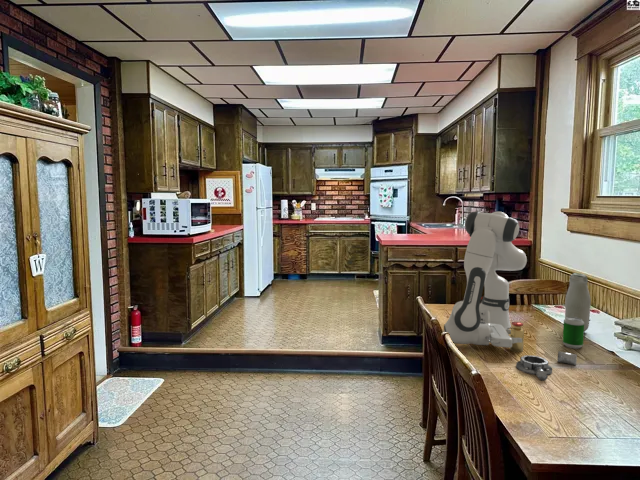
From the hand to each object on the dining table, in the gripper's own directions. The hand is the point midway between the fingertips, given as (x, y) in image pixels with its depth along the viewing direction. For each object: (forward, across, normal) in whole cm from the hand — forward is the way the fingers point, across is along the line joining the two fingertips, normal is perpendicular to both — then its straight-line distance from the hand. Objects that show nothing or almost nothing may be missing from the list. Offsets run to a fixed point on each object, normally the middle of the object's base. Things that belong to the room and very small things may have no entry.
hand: (518, 336), depth 178 cm
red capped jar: (-1, 0, +6) cm, 6 cm away
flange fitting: (+1, -22, +6) cm, 23 cm away
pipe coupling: (+15, -11, +6) cm, 20 cm away
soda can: (+24, +9, +6) cm, 26 cm away
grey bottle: (+33, +31, +6) cm, 46 cm away
